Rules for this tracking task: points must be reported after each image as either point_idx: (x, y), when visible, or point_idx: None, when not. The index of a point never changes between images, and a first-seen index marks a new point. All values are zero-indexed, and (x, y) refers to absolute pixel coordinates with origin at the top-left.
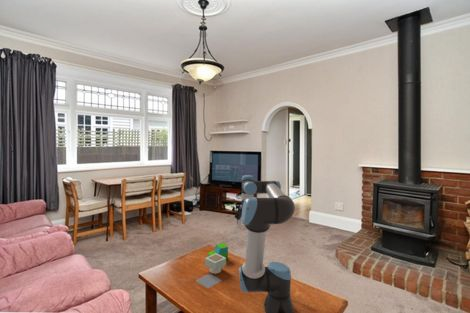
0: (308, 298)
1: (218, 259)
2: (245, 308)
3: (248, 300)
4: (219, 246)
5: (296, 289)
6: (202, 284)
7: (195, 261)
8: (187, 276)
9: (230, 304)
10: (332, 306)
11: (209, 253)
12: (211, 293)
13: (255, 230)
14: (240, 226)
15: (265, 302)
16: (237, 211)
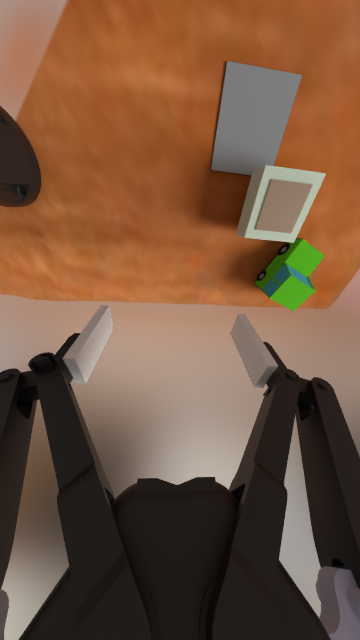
0: (9, 260)
1: (264, 203)
2: (42, 57)
3: (76, 124)
4: (299, 284)
5: (52, 275)
6: (260, 72)
7: (346, 212)
8: (346, 83)
9: (93, 27)
10: None
11: (317, 256)
12: (196, 39)
13: None
14: (236, 340)
15: (3, 123)
16: (353, 475)
